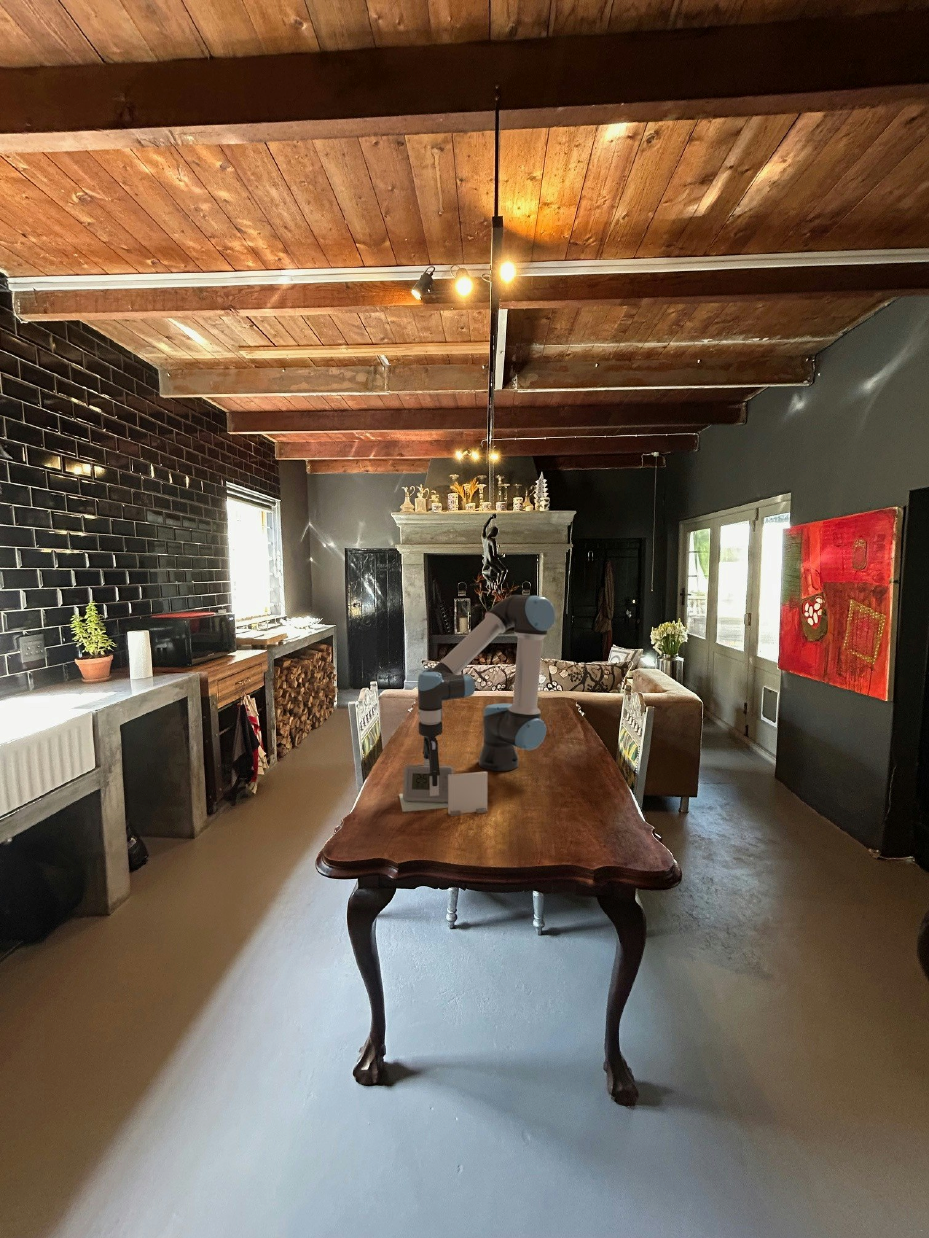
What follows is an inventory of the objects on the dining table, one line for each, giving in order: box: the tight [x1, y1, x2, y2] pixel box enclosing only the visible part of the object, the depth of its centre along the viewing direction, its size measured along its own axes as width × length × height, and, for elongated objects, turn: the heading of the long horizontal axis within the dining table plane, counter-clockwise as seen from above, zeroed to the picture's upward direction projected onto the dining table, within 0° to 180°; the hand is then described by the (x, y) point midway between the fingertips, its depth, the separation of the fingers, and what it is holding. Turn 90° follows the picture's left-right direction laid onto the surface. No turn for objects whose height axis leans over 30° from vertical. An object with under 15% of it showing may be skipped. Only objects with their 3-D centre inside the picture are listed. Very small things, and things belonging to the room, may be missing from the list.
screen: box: [447, 771, 488, 817], centre depth 163 cm, size 12×4×12 cm, turn 102°
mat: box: [398, 793, 448, 812], centre depth 171 cm, size 19×12×1 cm, turn 102°
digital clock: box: [402, 764, 455, 803], centre depth 170 cm, size 16×9×11 cm, turn 74°
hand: (431, 786), depth 171 cm, fingers open, 13 cm apart
